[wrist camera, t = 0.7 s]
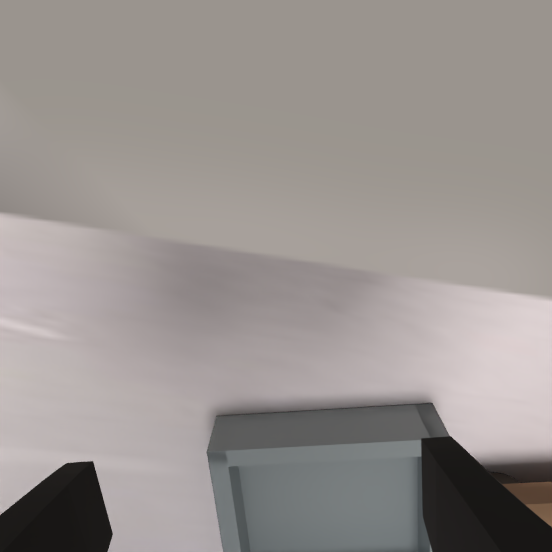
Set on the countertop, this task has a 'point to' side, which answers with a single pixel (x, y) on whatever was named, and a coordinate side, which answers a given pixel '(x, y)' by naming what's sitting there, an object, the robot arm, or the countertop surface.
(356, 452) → the tray
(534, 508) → the brown frame
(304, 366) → the countertop surface
